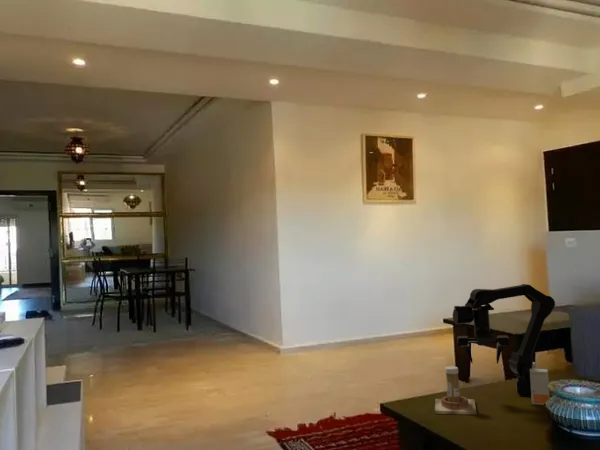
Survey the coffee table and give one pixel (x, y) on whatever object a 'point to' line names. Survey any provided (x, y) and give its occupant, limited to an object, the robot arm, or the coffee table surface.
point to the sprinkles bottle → (452, 384)
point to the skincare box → (539, 386)
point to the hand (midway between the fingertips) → (484, 363)
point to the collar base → (455, 406)
